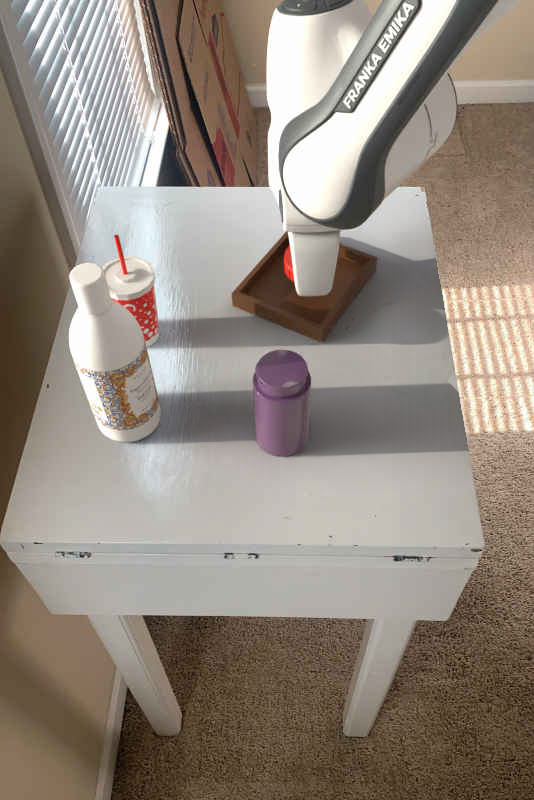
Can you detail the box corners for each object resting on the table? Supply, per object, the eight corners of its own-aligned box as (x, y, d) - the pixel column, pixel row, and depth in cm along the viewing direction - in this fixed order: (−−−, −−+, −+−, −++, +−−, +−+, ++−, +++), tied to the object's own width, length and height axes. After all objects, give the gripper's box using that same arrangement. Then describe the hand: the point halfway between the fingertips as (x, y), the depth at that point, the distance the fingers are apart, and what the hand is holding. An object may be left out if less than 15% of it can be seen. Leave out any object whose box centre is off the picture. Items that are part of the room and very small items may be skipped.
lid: (285, 287, 81) (285, 275, 79) (282, 251, 84) (283, 239, 82) (336, 285, 81) (337, 273, 79) (332, 249, 84) (333, 237, 83)
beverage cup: (103, 339, 81) (73, 241, 69) (138, 309, 84) (114, 209, 72) (142, 361, 79) (118, 264, 67) (176, 329, 82) (159, 231, 70)
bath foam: (134, 455, 72) (89, 314, 55) (84, 426, 74) (27, 282, 57) (175, 411, 75) (144, 264, 58) (126, 384, 77) (83, 236, 60)
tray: (290, 238, 90) (290, 225, 89) (375, 270, 87) (377, 257, 85) (232, 305, 84) (231, 293, 82) (321, 342, 80) (322, 330, 78)
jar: (289, 406, 75) (290, 337, 66) (318, 441, 72) (323, 374, 64) (245, 429, 73) (240, 361, 65) (274, 465, 71) (273, 400, 62)
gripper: (276, 112, 77) (277, 218, 89) (284, 229, 66) (284, 333, 78) (332, 110, 77) (326, 216, 89) (350, 227, 66) (340, 331, 78)
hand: (306, 271), depth 83 cm, fingers closed on lid, 6 cm apart
